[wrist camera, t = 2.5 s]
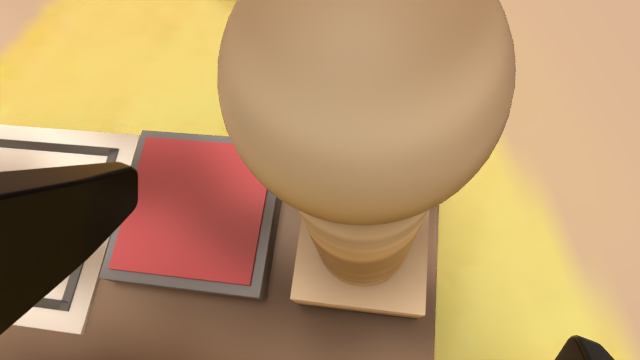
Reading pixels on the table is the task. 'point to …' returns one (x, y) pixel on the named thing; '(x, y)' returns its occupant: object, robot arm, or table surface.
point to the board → (193, 266)
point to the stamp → (365, 129)
